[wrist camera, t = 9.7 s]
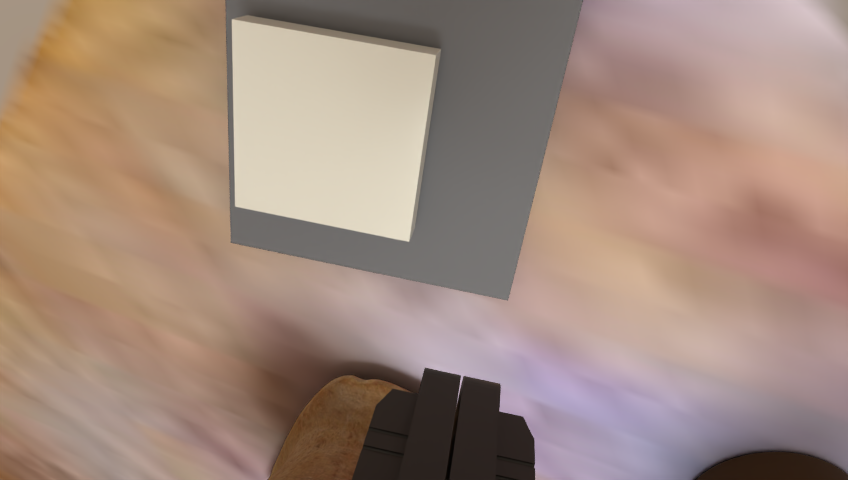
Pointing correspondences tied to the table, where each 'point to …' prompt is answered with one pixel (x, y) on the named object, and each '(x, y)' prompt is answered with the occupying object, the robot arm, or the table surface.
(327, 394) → the tan hollow piece
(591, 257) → the table surface
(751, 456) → the olive oil
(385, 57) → the tile
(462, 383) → the robot arm
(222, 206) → the table surface
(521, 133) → the mat
